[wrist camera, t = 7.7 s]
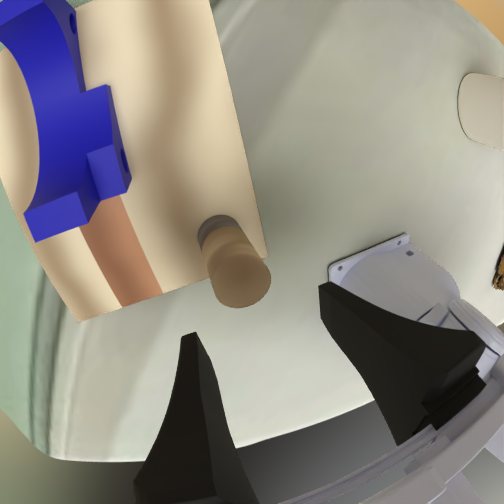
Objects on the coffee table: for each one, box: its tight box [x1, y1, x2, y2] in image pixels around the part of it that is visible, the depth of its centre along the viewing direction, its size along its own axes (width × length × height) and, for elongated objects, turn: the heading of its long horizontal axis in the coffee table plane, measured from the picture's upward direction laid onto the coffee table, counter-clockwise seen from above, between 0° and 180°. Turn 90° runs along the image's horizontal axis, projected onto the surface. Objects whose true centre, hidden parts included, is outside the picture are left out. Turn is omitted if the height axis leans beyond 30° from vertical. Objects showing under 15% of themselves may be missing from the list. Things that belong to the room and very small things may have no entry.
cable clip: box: [0, 0, 132, 243], centre depth 10 cm, size 12×4×6 cm, turn 8°
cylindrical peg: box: [198, 215, 271, 308], centre depth 17 cm, size 3×3×6 cm
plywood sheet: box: [0, 0, 268, 322], centre depth 15 cm, size 16×21×1 cm
